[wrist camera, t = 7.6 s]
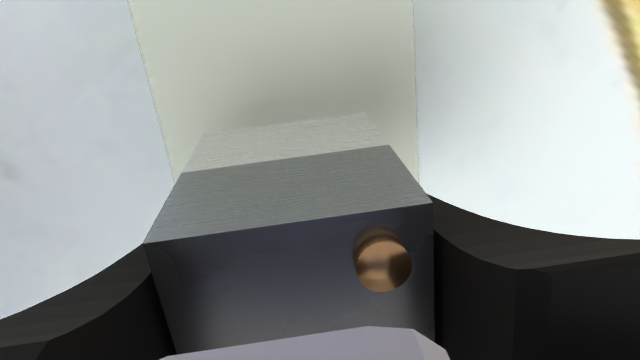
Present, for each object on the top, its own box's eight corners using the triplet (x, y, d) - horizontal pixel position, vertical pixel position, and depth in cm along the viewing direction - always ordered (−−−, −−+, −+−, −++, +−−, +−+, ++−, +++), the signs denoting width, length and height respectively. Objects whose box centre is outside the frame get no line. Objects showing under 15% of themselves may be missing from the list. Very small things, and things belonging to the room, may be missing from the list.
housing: (241, 305, 15) (217, 506, 9) (203, 133, 12) (136, 254, 7) (377, 285, 15) (440, 469, 9) (365, 112, 13) (439, 211, 7)
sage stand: (221, 316, 23) (216, 343, 21) (123, -83, 16) (102, -95, 14) (412, 287, 23) (423, 311, 21) (393, -115, 16) (408, -130, 15)
